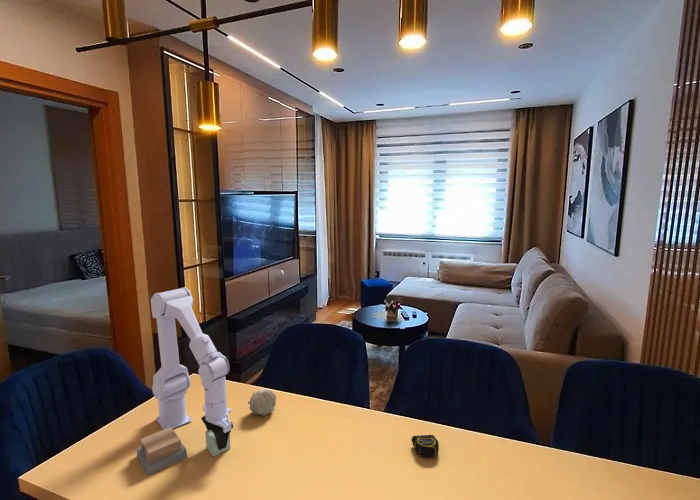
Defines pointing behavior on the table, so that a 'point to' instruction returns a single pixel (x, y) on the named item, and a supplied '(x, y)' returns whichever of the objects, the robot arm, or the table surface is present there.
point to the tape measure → (426, 445)
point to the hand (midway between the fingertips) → (218, 443)
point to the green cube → (214, 443)
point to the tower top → (160, 444)
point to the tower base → (160, 460)
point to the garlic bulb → (262, 402)
